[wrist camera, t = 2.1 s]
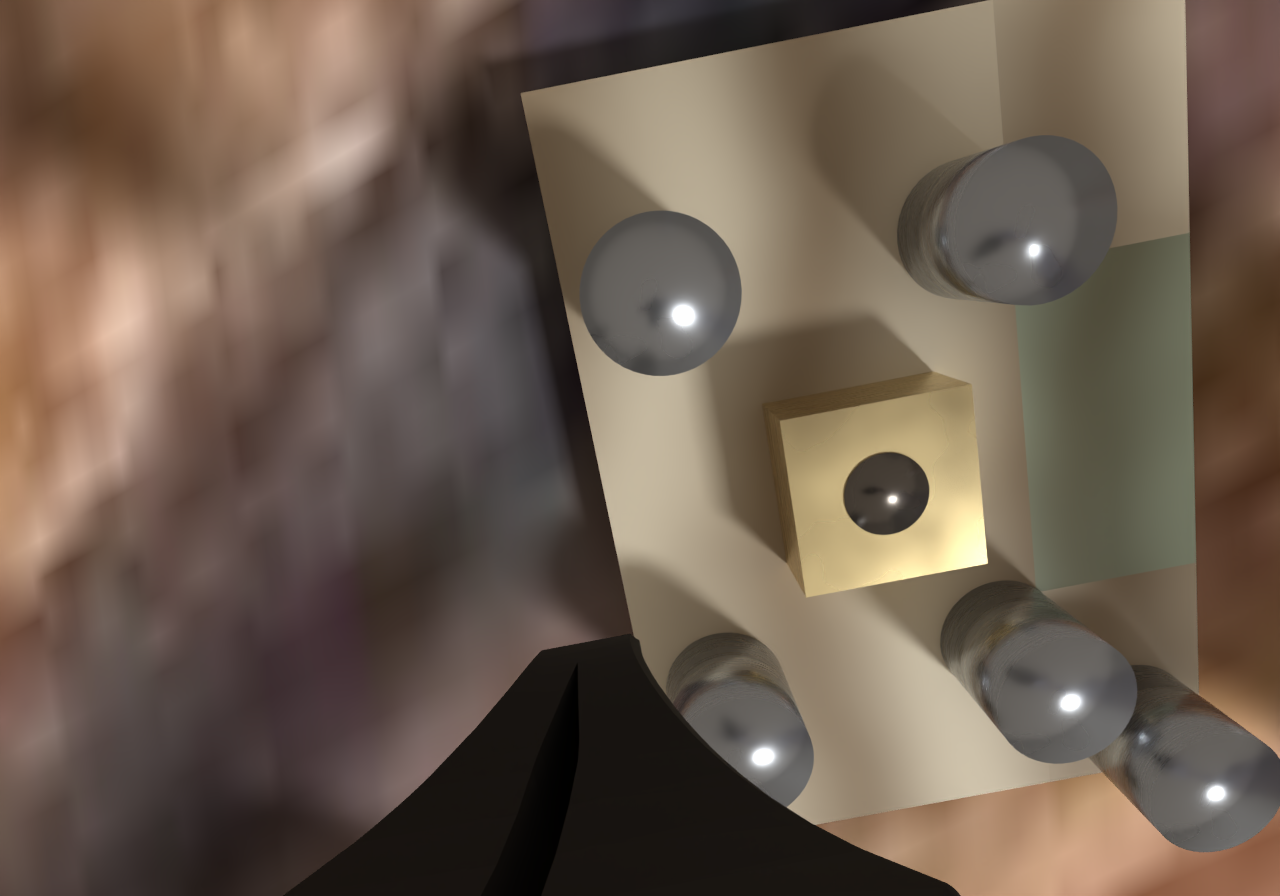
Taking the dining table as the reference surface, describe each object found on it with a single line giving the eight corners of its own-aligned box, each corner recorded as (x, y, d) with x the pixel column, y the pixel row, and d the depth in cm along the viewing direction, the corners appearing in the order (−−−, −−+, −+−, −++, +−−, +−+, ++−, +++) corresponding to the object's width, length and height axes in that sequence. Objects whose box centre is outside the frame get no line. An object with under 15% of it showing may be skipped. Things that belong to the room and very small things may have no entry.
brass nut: (932, 371, 18) (972, 384, 16) (949, 532, 19) (988, 564, 17) (761, 403, 18) (780, 421, 16) (786, 563, 19) (806, 598, 17)
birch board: (1145, -19, 17) (1184, -39, 16) (1168, 727, 21) (1200, 754, 20) (526, 105, 17) (520, 93, 16) (675, 818, 22) (678, 849, 20)
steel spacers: (1174, 117, 17) (1293, 84, 14) (1188, 756, 20) (1284, 838, 17) (573, 234, 17) (564, 227, 14) (697, 846, 20) (709, 942, 18)
